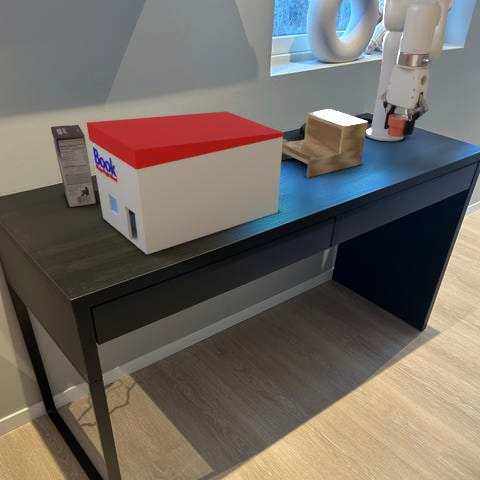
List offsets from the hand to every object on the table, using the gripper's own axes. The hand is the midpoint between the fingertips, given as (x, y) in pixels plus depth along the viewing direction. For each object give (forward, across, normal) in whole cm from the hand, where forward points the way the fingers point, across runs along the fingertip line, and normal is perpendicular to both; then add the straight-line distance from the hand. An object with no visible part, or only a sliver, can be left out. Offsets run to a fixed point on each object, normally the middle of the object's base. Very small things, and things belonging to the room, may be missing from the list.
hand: (397, 131), depth 135 cm
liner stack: (+1, 0, 0) cm, 1 cm away
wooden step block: (+10, +12, +18) cm, 24 cm away
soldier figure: (+10, +28, +19) cm, 35 cm away
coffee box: (+9, +23, +84) cm, 88 cm away
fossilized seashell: (+10, +32, +3) cm, 34 cm away
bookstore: (+9, +1, +66) cm, 67 cm away
